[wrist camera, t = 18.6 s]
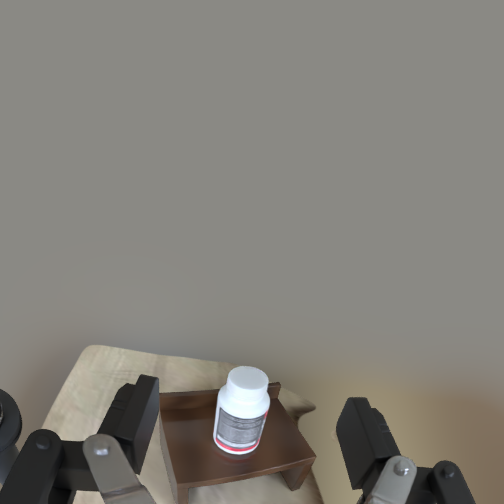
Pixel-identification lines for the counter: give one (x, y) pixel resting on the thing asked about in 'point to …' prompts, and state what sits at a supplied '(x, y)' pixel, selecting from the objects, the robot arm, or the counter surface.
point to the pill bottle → (241, 410)
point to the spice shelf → (216, 459)
